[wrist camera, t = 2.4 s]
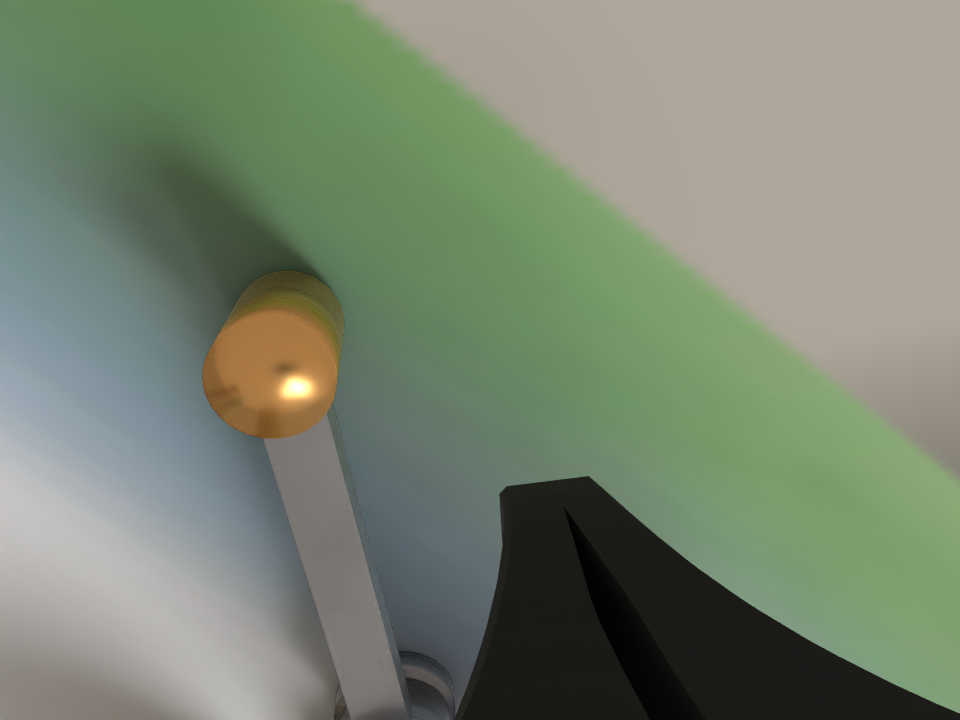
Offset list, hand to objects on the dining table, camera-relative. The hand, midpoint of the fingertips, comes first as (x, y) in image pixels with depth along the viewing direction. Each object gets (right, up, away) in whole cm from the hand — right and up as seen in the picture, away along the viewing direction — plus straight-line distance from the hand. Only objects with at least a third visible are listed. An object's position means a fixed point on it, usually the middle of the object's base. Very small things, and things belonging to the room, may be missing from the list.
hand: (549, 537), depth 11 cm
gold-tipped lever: (-5, -3, +11) cm, 13 cm away
